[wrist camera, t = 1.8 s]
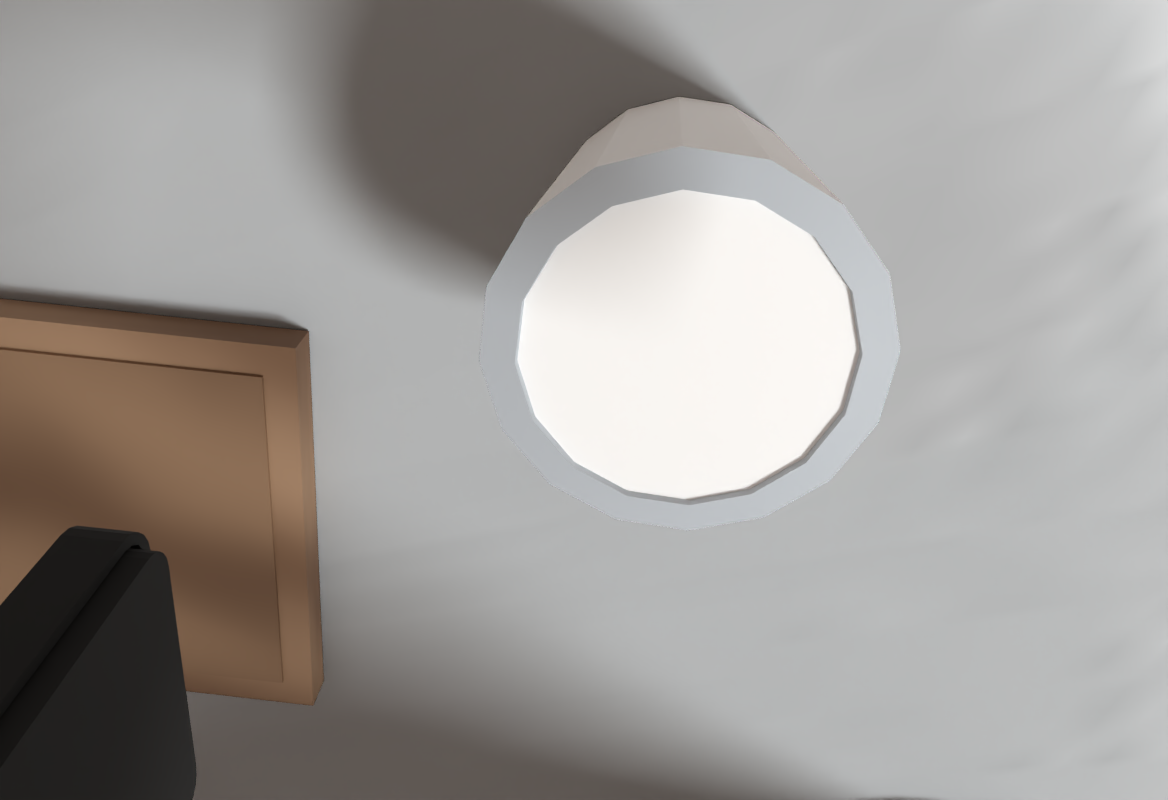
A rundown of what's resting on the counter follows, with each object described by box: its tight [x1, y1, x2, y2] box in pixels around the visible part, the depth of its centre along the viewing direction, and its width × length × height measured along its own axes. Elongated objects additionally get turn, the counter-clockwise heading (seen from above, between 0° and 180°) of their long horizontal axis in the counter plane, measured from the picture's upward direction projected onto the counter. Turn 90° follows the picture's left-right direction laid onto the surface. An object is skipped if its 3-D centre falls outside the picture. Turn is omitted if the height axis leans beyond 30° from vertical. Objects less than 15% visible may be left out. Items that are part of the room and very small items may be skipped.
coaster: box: [0, 299, 324, 706], centre depth 27 cm, size 11×11×1 cm
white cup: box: [479, 97, 901, 531], centre depth 20 cm, size 7×7×7 cm
